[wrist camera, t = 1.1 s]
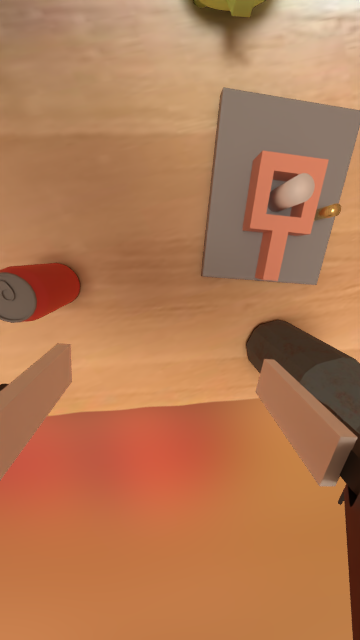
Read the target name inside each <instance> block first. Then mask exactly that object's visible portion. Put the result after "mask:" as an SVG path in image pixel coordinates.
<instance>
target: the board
mask: <svg viewBox="0 0 360 640" xmlns="http://www.w3.org/2000/svg"><path fill="white" fill-rule="evenodd" d="M359 127H360V110H354V109H348V108H342V107H336V106H330V105H324V104H319V103H313V102H307V101H301V100H295V99H289V98H283V97H277V96H271V95H265V94H259V93H253V92H247V91H241V90H235V89H229V88H223V90H222V93H221V95H220V103H219V112H218V122H217V131H216V140H215V150H214V159H213V168H212V178H211V187H210V196H209V205H208V215H207V224H206V233H205V243H204V252H203V261H202V271H201V276H205V277H218V278H231V279H245V280H258V281H272V280H262V279H258V278H255V274H256V268H257V263H258V257H259V252H260V246H261V241H262V235H263V233H262V232H252V231H242V228H243V222H244V215H245V209H246V202H247V196H248V189H249V183H250V177H251V170H252V164H253V160H254V159H255V158H256V157H257V156H258V155H259V154H260V153H261V152H262V151H270V152H277V153H285V154H292V155H299V156H306V157H313V158H320V159H328V160H329V161H328V165H327V169H326V173H325V177H324V181H323V185H322V189H321V194H320V198H319V202H318V206H317V209H319V208H322V207H325V206H329V205H332V204H336V203H338V204H339V200H340V197H341V193H342V189H343V186H344V182H345V178H346V175H347V171H348V167H349V164H350V160H351V156H352V153H353V149H354V145H355V142H356V138H357V134H358V131H359ZM314 188H315V183H314V180H313V178H312V176H310V175H309V174H307V173H302V174H299V175H297V176H295V177H294V178H292V179H290V180H289V181H279V180H272V185H271V190H270V196H269V201H268V207H267V212H266V214H271V215H280V216H289V217H290V213H291V209H292V206H295V205H298V204H300V203H303V202H305V201H307V200H308V199H309V198H310V197H311V196H312V194H313V192H314ZM334 219H335V216H334V217H330V218H325V219H321V220H316V221H314V222H313V226H312V230H311V234H308V235H301V236H293V235H288V237H287V241H286V246H285V250H284V255H283V260H282V264H281V269H280V274H279V278H278V281H272V282H285V283H299V284H312V285H317V281H318V277H319V274H320V270H321V266H322V263H323V259H324V255H325V252H326V248H327V244H328V241H329V237H330V233H331V230H332V226H333V222H334Z"/></svg>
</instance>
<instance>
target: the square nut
mask: <svg viewBox="0 0 360 640" xmlns="http://www.w3.org/2000/svg"><path fill="white" fill-rule="evenodd" d="M328 161H329V160H328V159H320V158H313V157H306V156H299V155H292V154H285V153H277V152H270V151H262V152H261V153H260V154H259V155H258V156H257V157H256V158H255V159H254V160H253V164H252V170H251V177H250V183H249V189H248V196H247V202H246V209H245V215H244V222H243V228H242V231H252V232H262V233H263V235H262V241H261V246H260V252H259V257H258V263H257V268H256V274H255V278H258V279H262V280H272V281H278V278H279V274H280V269H281V264H282V260H283V255H284V250H285V246H286V241H287V237H288V235H293V236H301V235H308V234H311V230H312V226H313V222H314V218H315V214H316V210H317V206H318V202H319V198H320V194H321V189H322V185H323V181H324V177H325V173H326V169H327V165H328ZM302 173H307V174H309V175H310V176H312V178H313V180H314V183H315V188H314V192H313V194H312V196H311V197H310V198H309V199H308V200H307V201H305V202H303V203H300V204H298V205H295V206H292V209H291V213H290V217H289V216H280V215H271V214H266V212H267V207H268V201H269V196H270V190H271V185H272V180H279V181H289V180H290V179H292V178H294V177H295V176H297V175H299V174H302Z"/></svg>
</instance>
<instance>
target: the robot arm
mask: <svg viewBox="0 0 360 640" xmlns="http://www.w3.org/2000/svg"><path fill="white" fill-rule="evenodd" d="M71 382H72V371H71V344H59V343H58V344H57V345H56V346H54V347H53V348H52V349H51V350H50V351H48V352H47V353H46V354H45V355H43V356H42V357H41V358H40V359H39V360H37V361H36V362H35V363H34V364H33V365H31V366H30V367H29V368H28V369H27V370H25V371H24V372H23V373H22V374H21V375H19V376H18V377H17V378H16V379H15V380H13V381H12V382H11V383H10V384H1V385H0V480H1V478H2V477H3V476H4V474H5V473H6V472H7V470H8V469H9V468H10V466H11V465H12V463H13V462H14V461H15V459H16V458H17V457H18V455H19V454H20V452H21V451H22V450H23V448H24V447H25V446H26V444H27V443H28V441H29V440H30V439H31V437H32V436H33V435H34V433H35V432H36V430H37V428H39V426H40V425H41V423H42V422H43V421H44V419H45V418H46V417H47V415H48V414H49V412H50V411H51V410H52V408H53V407H54V406H55V404H56V403H57V401H58V400H59V399H60V397H61V396H62V395H63V393H64V392H65V390H66V389H67V388H68V386H69V385H70V384H71ZM256 393H257V395H258V396H259V398H260V399H261V401H262V402H263V404H264V405H265V406H266V408H267V410H268V411H269V412H270V414H271V415H272V417H273V418H274V420H275V421H276V423H277V424H278V426H279V427H280V428H281V430H282V431H283V433H284V435H285V436H286V438H287V439H288V440H289V442H290V443H291V445H292V446H293V448H294V449H295V451H296V452H297V454H298V455H299V457H300V458H301V460H302V461H303V463H304V464H305V466H306V467H307V469H308V470H309V471H310V473H311V474H312V476H313V477H314V479H315V480H316V482H317V483H318V485H319V486H335V485H336V483H337V481H338V479H339V477H340V476H341V477H342V479H343V480H344V481H345V482H346V486H345V488H344V490H343V492H342V494H341V496H340V498H339V501H338V504H340V505H341V504H342V502H343V501H345V516H346V533H347V548H348V565H349V582H350V597H351V612H352V613H351V614H352V630H353V640H360V434H359V433H358V432H356V431H355V430H354V429H353V428H352V427H351V426H350V425H349V424H348V423H347V422H345V421H343V419H342V418H341V417H340V416H339V415H337V413H336V412H334V411H333V410H332V409H331V408H330V407H329V406H327V405H326V404H324V403H323V402H321V401H320V400H317V399H316V398H315V397H314V396H313V395H312V394H311V393H310V392H308V391H307V390H306V389H305V388H304V387H303V386H302V385H301V384H300V383H299V382H298V381H297V380H296V379H295V378H293V377H292V376H291V375H290V374H289V373H288V372H287V371H286V370H285V369H284V368H283V367H282V366H281V365H280V364H278V363H277V362H276V361H275V360H272V359H264V362H263V366H262V369H261V373H260V377H259V381H258V385H257V388H256Z"/></svg>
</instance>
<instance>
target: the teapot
mask: <svg viewBox="0 0 360 640" xmlns="http://www.w3.org/2000/svg"><path fill="white" fill-rule="evenodd" d="M193 1H194V3H195V4H196V5H197V6H198V7H201V8H204V7H206V6H207V7H210V8H213V9H218V10H225V11H230V12H231V15H232V16H240V17H250V15H251V12H252V9H253V8H254V7H256V6H257V5H259V4H260V3H262V2H264V1H265V0H193Z"/></svg>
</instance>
